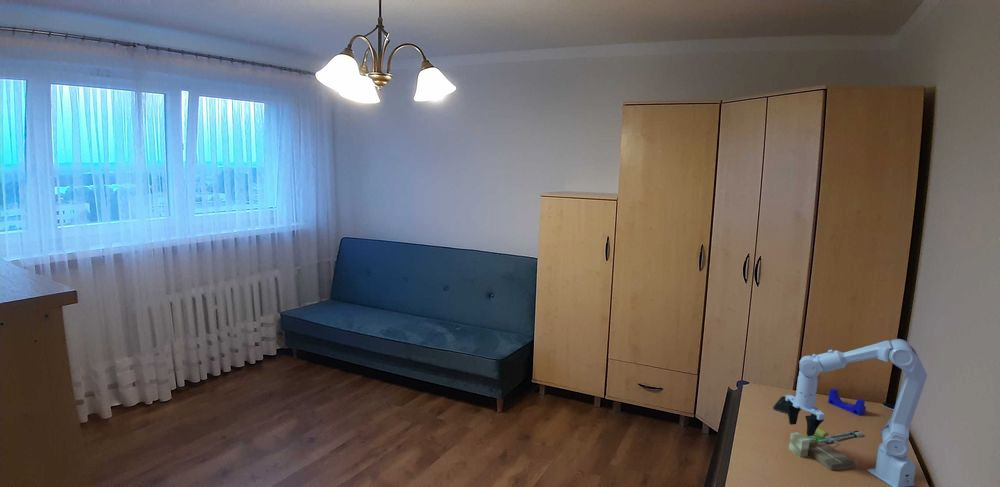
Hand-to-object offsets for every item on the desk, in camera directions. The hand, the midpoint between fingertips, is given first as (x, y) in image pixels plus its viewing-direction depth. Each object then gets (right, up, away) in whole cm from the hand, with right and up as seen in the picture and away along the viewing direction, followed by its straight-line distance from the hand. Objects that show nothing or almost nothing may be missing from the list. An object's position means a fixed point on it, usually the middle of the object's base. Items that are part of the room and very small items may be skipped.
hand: (801, 429), depth 178 cm
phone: (+15, -4, +36) cm, 39 cm away
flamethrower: (+16, -8, +12) cm, 22 cm away
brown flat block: (+8, -9, -1) cm, 12 cm away
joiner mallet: (+2, -8, +2) cm, 9 cm away
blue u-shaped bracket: (+39, -4, +36) cm, 54 cm away
